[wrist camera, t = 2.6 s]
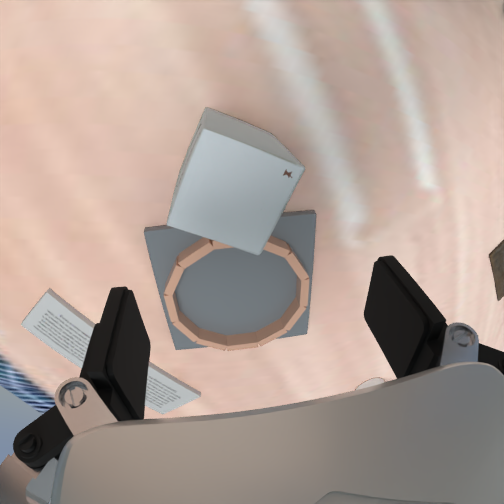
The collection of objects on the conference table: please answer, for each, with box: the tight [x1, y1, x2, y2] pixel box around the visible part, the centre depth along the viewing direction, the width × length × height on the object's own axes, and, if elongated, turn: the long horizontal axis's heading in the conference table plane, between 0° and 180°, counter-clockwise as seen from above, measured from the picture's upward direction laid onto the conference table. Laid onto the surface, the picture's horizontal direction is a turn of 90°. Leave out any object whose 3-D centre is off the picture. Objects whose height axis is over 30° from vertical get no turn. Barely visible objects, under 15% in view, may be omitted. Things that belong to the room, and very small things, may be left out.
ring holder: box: [144, 210, 316, 351], centre depth 39 cm, size 19×19×3 cm
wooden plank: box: [489, 240, 504, 301], centre depth 48 cm, size 17×1×5 cm
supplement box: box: [167, 107, 305, 255], centre depth 26 cm, size 7×7×13 cm
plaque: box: [21, 288, 201, 414], centre depth 45 cm, size 30×2×10 cm
